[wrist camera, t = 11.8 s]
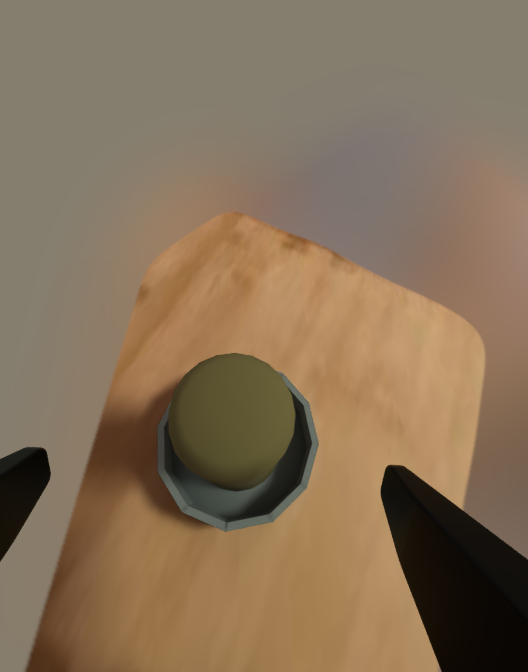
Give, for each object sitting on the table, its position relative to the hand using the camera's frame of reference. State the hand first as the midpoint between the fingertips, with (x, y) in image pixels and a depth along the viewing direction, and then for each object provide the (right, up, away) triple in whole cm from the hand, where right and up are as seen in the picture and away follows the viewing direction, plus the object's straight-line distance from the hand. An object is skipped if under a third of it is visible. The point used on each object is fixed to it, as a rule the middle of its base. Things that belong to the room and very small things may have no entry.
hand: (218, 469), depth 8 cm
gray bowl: (-1, -4, +13) cm, 14 cm away
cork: (-1, -4, +13) cm, 14 cm away
